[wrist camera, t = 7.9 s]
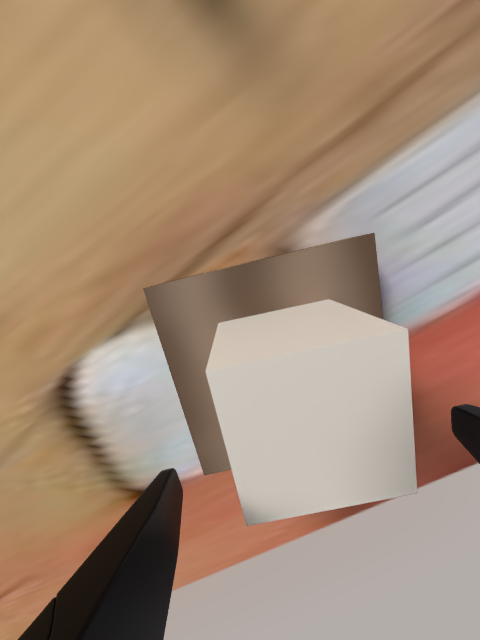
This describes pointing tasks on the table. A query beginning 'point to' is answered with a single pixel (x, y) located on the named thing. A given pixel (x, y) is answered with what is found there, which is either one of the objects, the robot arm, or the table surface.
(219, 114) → the table surface
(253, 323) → the off-white cube
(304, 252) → the walnut slab
